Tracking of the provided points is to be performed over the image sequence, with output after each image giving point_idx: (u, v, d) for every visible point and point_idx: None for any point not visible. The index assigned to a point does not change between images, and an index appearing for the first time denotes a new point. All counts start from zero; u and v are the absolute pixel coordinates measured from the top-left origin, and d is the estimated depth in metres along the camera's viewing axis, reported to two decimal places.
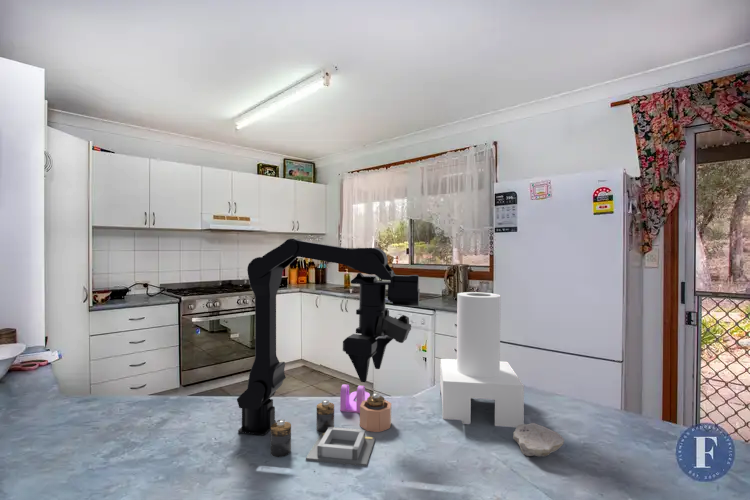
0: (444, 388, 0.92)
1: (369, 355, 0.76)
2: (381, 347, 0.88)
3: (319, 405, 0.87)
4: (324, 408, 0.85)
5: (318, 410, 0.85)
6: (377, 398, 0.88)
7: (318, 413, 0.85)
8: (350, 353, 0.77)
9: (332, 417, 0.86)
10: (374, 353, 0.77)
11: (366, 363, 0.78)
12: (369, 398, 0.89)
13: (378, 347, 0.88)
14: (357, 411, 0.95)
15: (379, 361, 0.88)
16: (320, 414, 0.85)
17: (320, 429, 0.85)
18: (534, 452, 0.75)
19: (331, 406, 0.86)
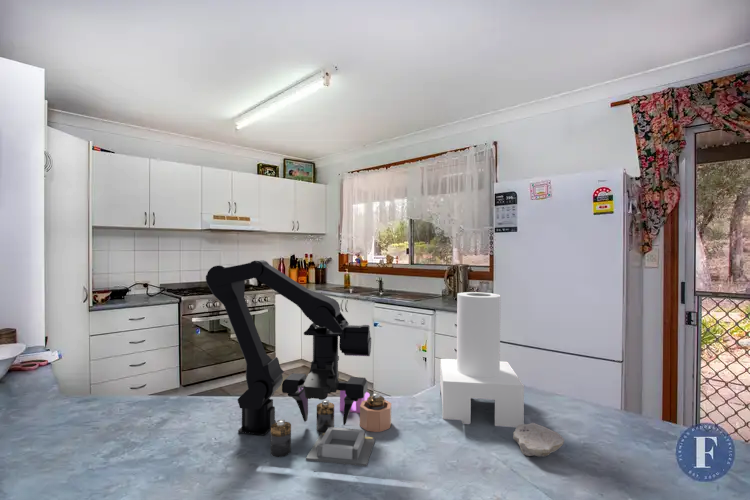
0: (444, 388, 0.92)
1: (288, 394, 0.85)
2: (345, 403, 0.85)
3: (319, 405, 0.87)
4: (324, 408, 0.85)
5: (318, 410, 0.85)
6: (377, 398, 0.88)
7: (318, 413, 0.85)
8: None
9: (332, 417, 0.86)
10: (292, 395, 0.85)
11: None
12: (369, 398, 0.89)
13: None
14: (357, 411, 0.95)
15: None
16: (320, 414, 0.85)
17: (320, 429, 0.85)
18: (534, 452, 0.75)
19: (331, 406, 0.86)
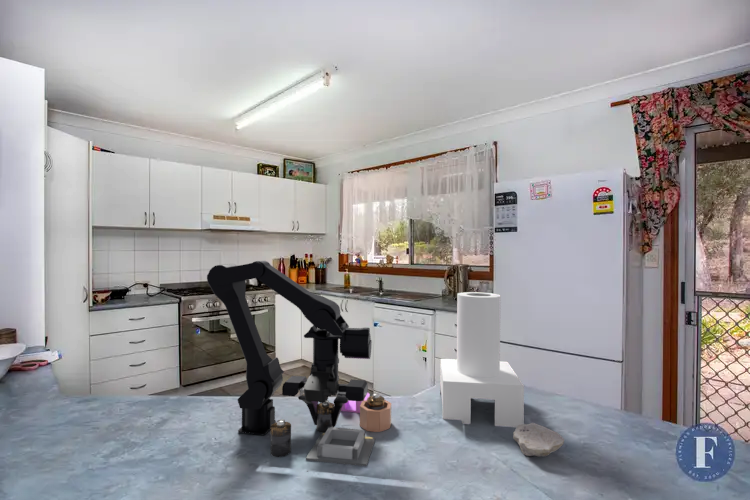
0: (444, 388, 0.92)
1: (298, 398, 0.85)
2: None
3: (319, 405, 0.87)
4: (324, 408, 0.85)
5: (318, 410, 0.85)
6: (377, 398, 0.88)
7: (318, 413, 0.85)
8: None
9: (332, 417, 0.86)
10: (303, 399, 0.84)
11: None
12: (369, 398, 0.89)
13: None
14: (356, 411, 0.95)
15: None
16: (320, 414, 0.85)
17: (320, 429, 0.85)
18: (534, 452, 0.75)
19: (331, 406, 0.86)
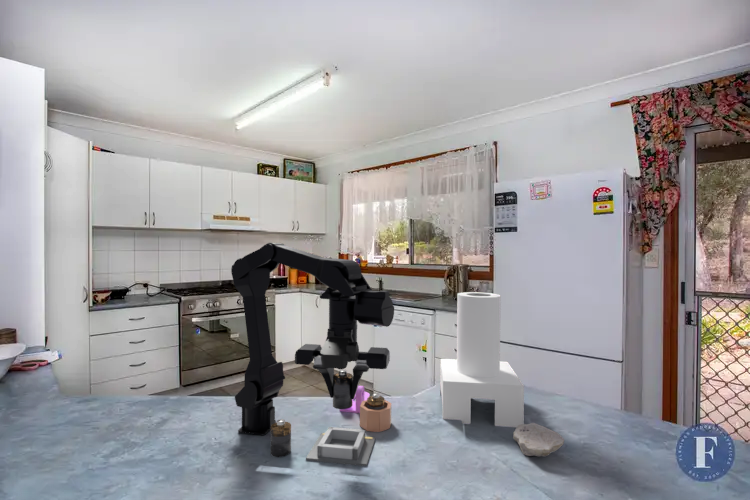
0: (444, 388, 0.92)
1: (313, 367, 0.76)
2: None
3: (336, 375, 0.78)
4: (341, 377, 0.77)
5: (335, 380, 0.76)
6: (377, 398, 0.88)
7: (335, 384, 0.76)
8: None
9: (350, 388, 0.77)
10: (318, 367, 0.75)
11: None
12: (369, 398, 0.89)
13: None
14: (356, 411, 0.95)
15: None
16: (337, 384, 0.76)
17: (338, 401, 0.76)
18: (534, 452, 0.75)
19: (349, 376, 0.77)
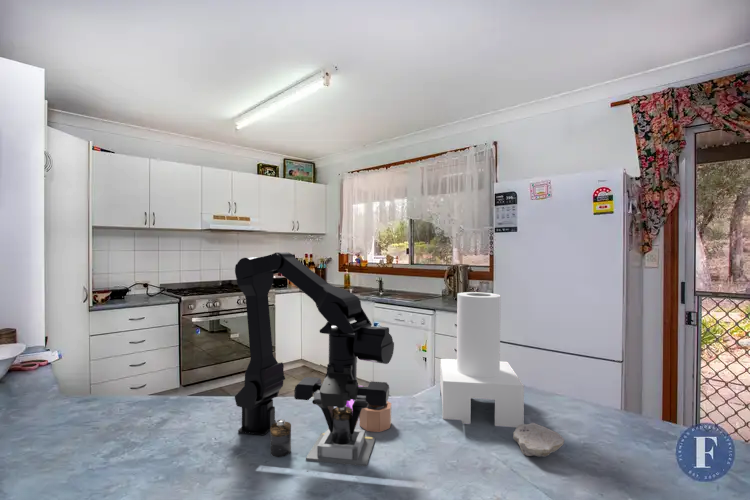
0: (444, 388, 0.92)
1: (312, 402, 0.76)
2: (353, 410, 0.77)
3: (335, 410, 0.78)
4: (341, 413, 0.77)
5: (334, 415, 0.76)
6: None
7: (335, 419, 0.76)
8: None
9: (350, 423, 0.77)
10: (317, 403, 0.75)
11: None
12: None
13: None
14: None
15: None
16: (337, 420, 0.76)
17: (337, 437, 0.76)
18: (534, 452, 0.75)
19: (348, 411, 0.77)
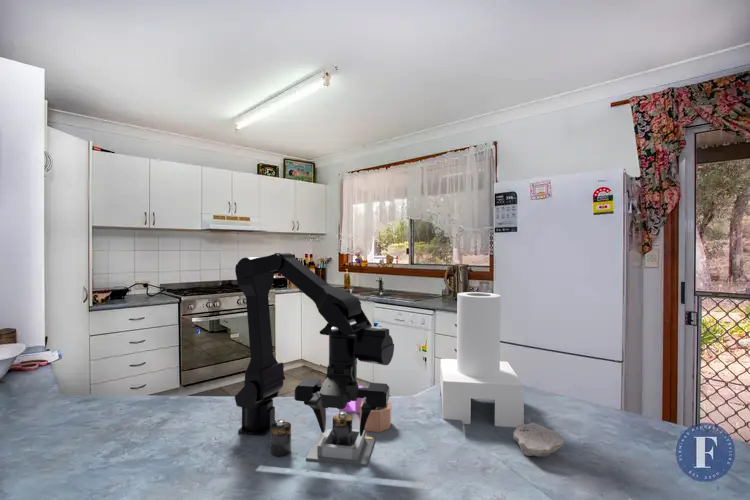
0: (444, 388, 0.92)
1: (304, 402, 0.76)
2: (362, 412, 0.76)
3: (335, 417, 0.78)
4: (341, 420, 0.77)
5: (335, 423, 0.76)
6: None
7: (335, 427, 0.76)
8: None
9: (350, 431, 0.77)
10: (309, 403, 0.76)
11: None
12: None
13: None
14: (356, 411, 0.95)
15: (360, 427, 0.77)
16: (337, 427, 0.76)
17: (337, 444, 0.76)
18: (534, 452, 0.75)
19: (348, 418, 0.77)
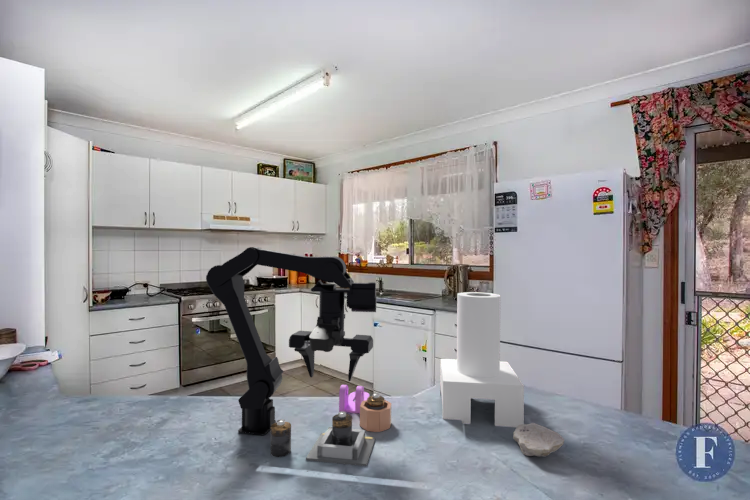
0: (444, 388, 0.92)
1: (294, 349, 0.87)
2: None
3: (335, 417, 0.78)
4: (340, 420, 0.76)
5: (334, 423, 0.76)
6: (377, 398, 0.88)
7: (335, 427, 0.76)
8: None
9: (350, 431, 0.77)
10: (298, 350, 0.86)
11: None
12: (369, 398, 0.89)
13: None
14: (356, 411, 0.95)
15: None
16: (337, 428, 0.76)
17: (337, 444, 0.76)
18: (534, 452, 0.75)
19: (348, 418, 0.77)
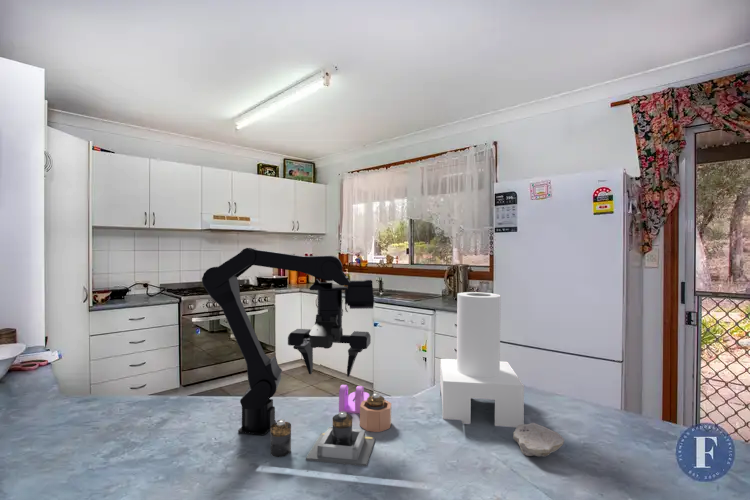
0: (444, 388, 0.92)
1: (293, 347, 0.88)
2: (349, 356, 0.88)
3: (335, 417, 0.78)
4: (341, 420, 0.76)
5: (334, 423, 0.76)
6: (377, 398, 0.88)
7: (335, 427, 0.76)
8: None
9: (350, 431, 0.77)
10: (297, 347, 0.88)
11: None
12: (369, 398, 0.89)
13: None
14: (356, 412, 0.95)
15: None
16: (337, 427, 0.76)
17: (337, 444, 0.76)
18: (534, 452, 0.75)
19: (348, 418, 0.77)
